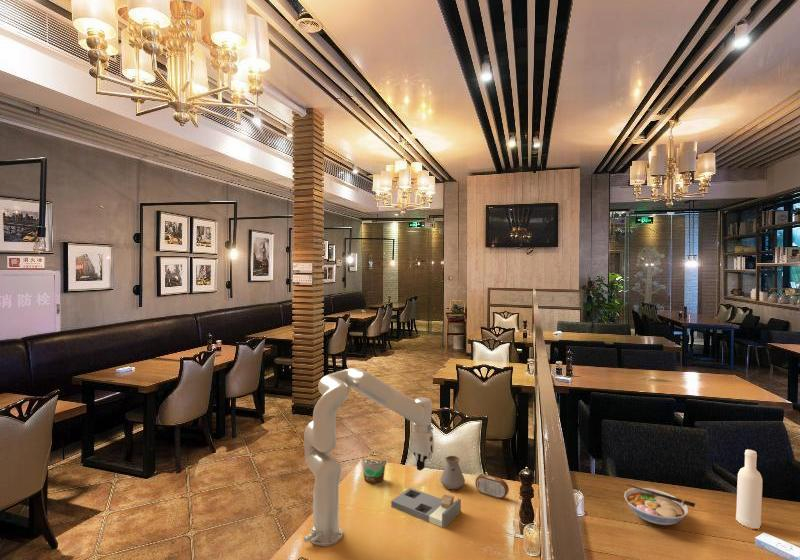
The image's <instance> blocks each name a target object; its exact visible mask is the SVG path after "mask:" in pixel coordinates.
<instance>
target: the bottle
mask: <svg viewBox="0 0 800 560" xmlns="http://www.w3.org/2000/svg"><path fill="white" fill-rule="evenodd" d="M757 457H758V454H757V451H755V450H753V449H745V451H744V466H743V467H741V468H740V469H739V471H738V473H737V485H736V508H735V509H736V512H735V521H736V520H737V521H738V522H739V523H741V524H742V525H745V526H747V527H751V528H760V526H761V527H762V507H763V506H762V503H763V502H762V501H763V499H762V498H763V477H762V474H761V473H760V471H758V469H757ZM760 529H761V528H760Z"/></svg>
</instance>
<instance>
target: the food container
mask: <svg viewBox="0 0 800 560" xmlns="http://www.w3.org/2000/svg"><path fill="white" fill-rule="evenodd" d="M386 465H387V460H386V458H385V459H384V460H378V459H364V458H363V457H362V459H361V466H362V468H363V469H362V471H363V478H364V479H363V480H364V481H365V483H368V484H371V485H375V484H380V483H382V482H383V481H384V479H385V470H386Z"/></svg>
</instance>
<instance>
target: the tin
mask: <svg viewBox="0 0 800 560" xmlns="http://www.w3.org/2000/svg"><path fill="white" fill-rule="evenodd" d="M475 487H476V489H477V490H478V491H479V492H480V493H481V494H483V495H487V496H490V497H493V498H496V499H500V500H501V499H504V498H505V497H506V496H507V495H508V494H509V489H510V488H509V486H508V484H507V482H506V481H505V480H504V479H502V478H500V477H496V476H493V475H489V474H486V473H480V474H479V475H478V476H477V477H476V478H475Z"/></svg>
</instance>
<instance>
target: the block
mask: <svg viewBox="0 0 800 560" xmlns="http://www.w3.org/2000/svg"><path fill="white" fill-rule="evenodd" d="M440 499H441V507H443V508H446V509H448V508H449V507H450V506H451V505H452V504H453V503H454V502H455V500H454V499H455V495H453V494H452V495H451V494H449V493H444V494H443V495H442V496H441V497H440Z"/></svg>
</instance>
